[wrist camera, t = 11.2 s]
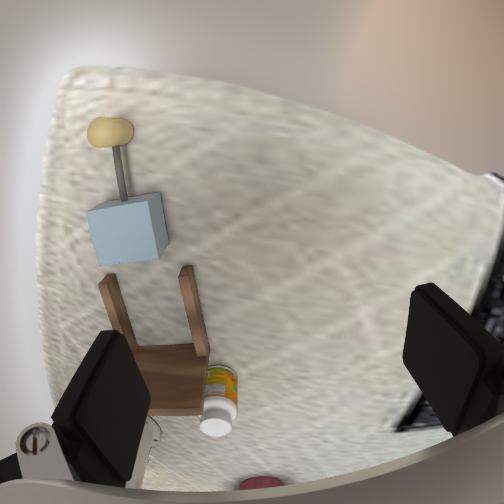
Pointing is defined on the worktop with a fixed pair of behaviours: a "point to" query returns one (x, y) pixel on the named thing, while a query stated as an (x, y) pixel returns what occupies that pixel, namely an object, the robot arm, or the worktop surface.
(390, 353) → the worktop surface
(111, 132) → the push plunger
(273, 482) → the plant pot
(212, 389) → the supplement bottle
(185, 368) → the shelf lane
